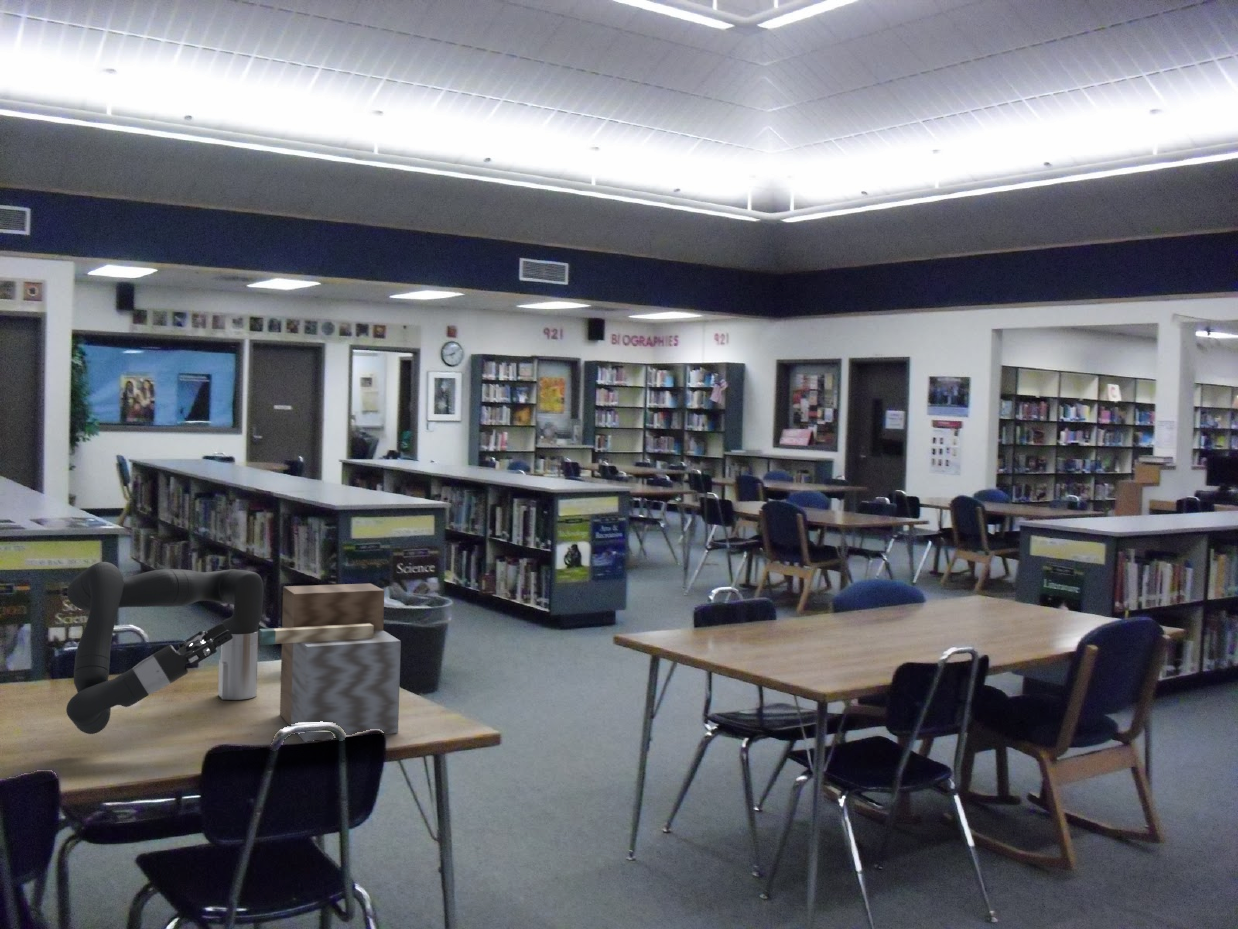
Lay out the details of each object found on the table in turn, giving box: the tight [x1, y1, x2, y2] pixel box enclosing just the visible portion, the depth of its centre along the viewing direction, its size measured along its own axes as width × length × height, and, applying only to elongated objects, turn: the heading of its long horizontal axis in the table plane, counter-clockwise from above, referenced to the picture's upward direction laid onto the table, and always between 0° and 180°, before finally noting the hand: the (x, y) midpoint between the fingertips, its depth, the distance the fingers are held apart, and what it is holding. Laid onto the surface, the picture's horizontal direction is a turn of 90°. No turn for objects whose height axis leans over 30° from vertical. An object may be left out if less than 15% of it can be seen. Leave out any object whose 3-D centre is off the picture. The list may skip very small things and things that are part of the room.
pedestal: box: [279, 582, 402, 743], centre depth 278 cm, size 22×26×32 cm
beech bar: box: [258, 623, 374, 646], centre depth 269 cm, size 26×3×3 cm, turn 119°
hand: (227, 630), depth 260 cm, fingers open, 8 cm apart
